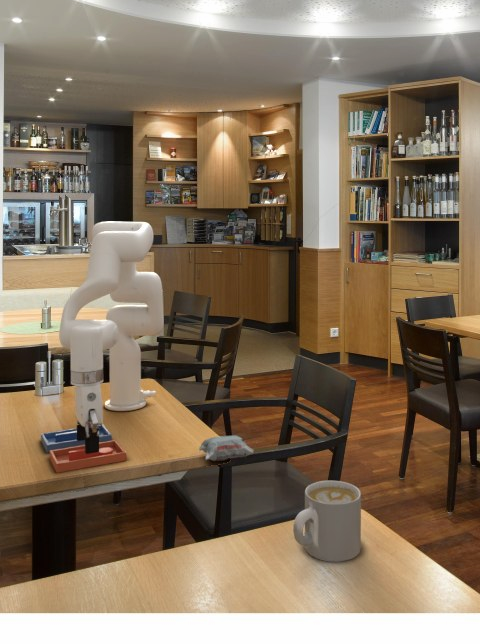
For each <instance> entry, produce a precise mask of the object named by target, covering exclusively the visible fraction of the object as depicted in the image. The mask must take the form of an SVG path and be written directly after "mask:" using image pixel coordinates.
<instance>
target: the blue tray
mask: <svg viewBox="0 0 480 644" xmlns="http://www.w3.org/2000/svg"><path fill="white" fill-rule="evenodd" d="M90 428H92V427H90ZM98 429H99V443H101V442H107V441H113V435H112V433H111V432H110V431H109V430H108V428H107V427H106V426H105V425H104V423H103V424H102V425H99V424H98ZM72 431H77V427H76V428H70V429H62V430H55V431H49V432H41V433H40V441H41V444H42V446H43V448H44V450H45V452H46V453H48V454H50V451H51V450H57V449H64V448H70V447H76V446H82V445H85V440H83V441H77V440H72V441H65V442H59V443H56V442H55V434H59V433H66V432H72Z"/></svg>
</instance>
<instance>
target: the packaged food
mask: <svg viewBox="0 0 480 644" xmlns="http://www.w3.org/2000/svg"><path fill="white" fill-rule="evenodd" d="M198 450H199V452H201V451H203V453H205V459H204V460H205V461H208V460H211V461H213V462H220V461H221V462H223V461H230V460H237V459H241V458H246V457H247V456H250V455H252V454H254V453H255V450H254V449H253V448H252V447H250V446H248V445H247V443H246V441H245V440H244V439H243V438H242V437H240V436H238V435H235V434H234V435H223V436H222V435H221V436H214V437H209V438H207V439H205V440H203V442H201V444H200V446H199V448H198Z"/></svg>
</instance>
